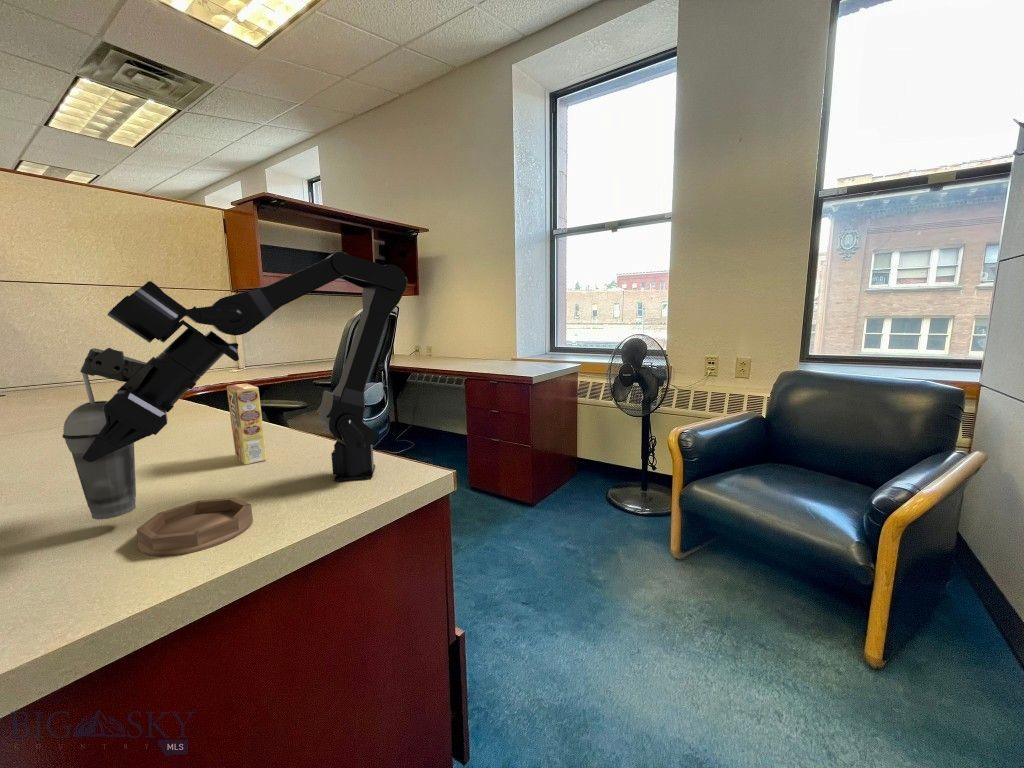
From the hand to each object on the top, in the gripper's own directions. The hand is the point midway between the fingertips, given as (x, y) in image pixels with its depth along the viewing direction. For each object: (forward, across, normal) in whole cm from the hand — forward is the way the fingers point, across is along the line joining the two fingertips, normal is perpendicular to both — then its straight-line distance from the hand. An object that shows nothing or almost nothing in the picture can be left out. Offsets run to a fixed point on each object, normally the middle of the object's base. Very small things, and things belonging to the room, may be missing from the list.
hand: (90, 453), depth 58 cm
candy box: (-6, -24, +22) cm, 33 cm away
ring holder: (0, +9, +15) cm, 17 cm away
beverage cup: (+5, 0, +7) cm, 9 cm away
